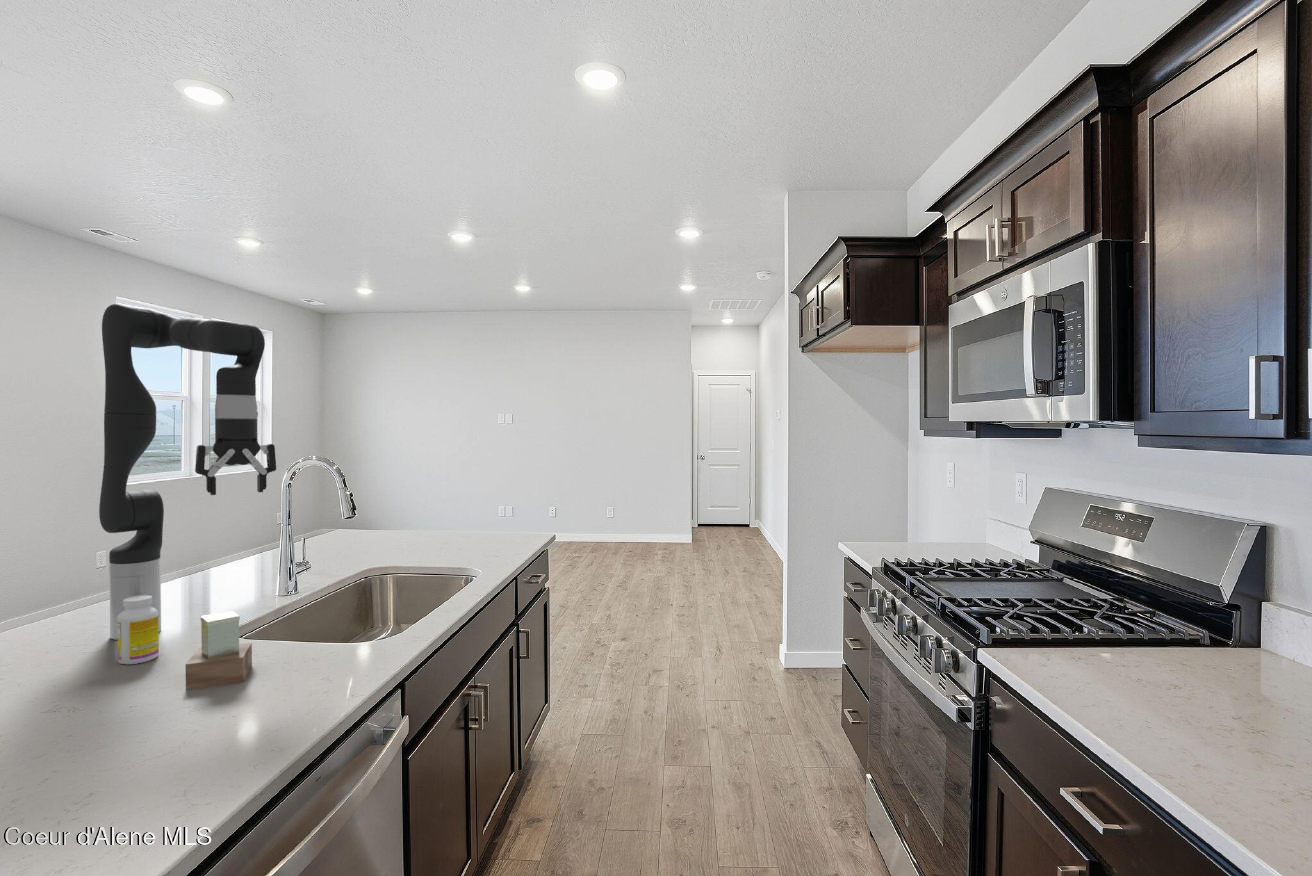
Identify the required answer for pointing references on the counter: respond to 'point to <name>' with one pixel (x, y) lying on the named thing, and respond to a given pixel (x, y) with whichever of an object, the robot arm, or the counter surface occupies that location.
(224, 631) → the tea tin
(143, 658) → the supplement bottle
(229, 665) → the walnut block
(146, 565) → the robot arm
